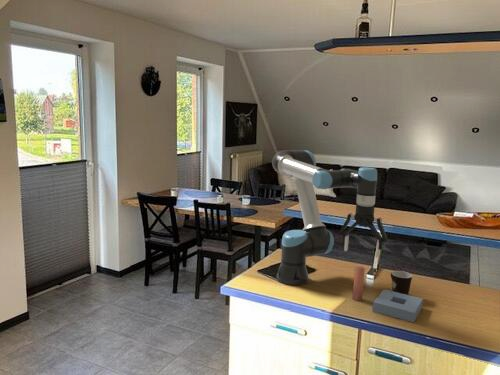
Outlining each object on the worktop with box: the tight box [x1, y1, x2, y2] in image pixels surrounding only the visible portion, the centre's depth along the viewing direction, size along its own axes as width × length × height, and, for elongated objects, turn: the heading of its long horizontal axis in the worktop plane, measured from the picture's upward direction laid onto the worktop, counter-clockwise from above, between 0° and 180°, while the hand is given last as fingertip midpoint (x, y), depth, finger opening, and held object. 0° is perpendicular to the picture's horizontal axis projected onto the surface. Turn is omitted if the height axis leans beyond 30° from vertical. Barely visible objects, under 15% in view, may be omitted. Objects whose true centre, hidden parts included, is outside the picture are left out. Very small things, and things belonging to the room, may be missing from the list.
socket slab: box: [372, 288, 424, 323], centre depth 173 cm, size 16×16×4 cm
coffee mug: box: [390, 270, 413, 295], centre depth 187 cm, size 12×9×10 cm
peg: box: [352, 266, 366, 302], centre depth 181 cm, size 4×4×14 cm
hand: (361, 253), depth 179 cm, fingers open, 13 cm apart
